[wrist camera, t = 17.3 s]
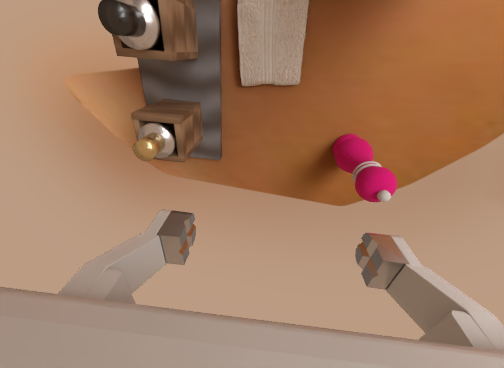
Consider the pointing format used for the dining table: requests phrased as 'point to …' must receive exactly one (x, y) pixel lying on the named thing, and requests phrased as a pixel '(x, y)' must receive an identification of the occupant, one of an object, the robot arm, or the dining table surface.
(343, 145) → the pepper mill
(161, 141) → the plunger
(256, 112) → the dining table surface
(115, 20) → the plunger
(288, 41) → the washcloth
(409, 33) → the dining table surface
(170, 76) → the grey holder stand
